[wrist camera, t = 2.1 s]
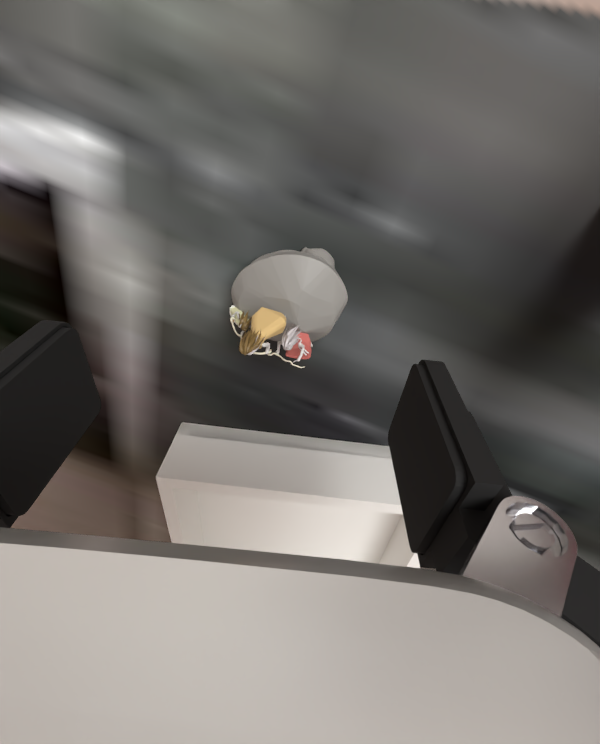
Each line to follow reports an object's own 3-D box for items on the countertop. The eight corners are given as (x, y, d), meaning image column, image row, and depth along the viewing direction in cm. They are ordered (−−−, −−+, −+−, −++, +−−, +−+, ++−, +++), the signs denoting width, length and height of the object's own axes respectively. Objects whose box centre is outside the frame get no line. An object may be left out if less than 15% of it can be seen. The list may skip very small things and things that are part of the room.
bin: (436, 451, 21) (455, 511, 18) (378, 569, 31) (383, 623, 27) (181, 422, 21) (155, 476, 18) (200, 549, 31) (185, 600, 27)
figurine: (335, 218, 14) (307, 292, 9) (363, 313, 16) (352, 407, 12) (222, 255, 16) (156, 330, 11) (263, 334, 18) (221, 421, 14)
